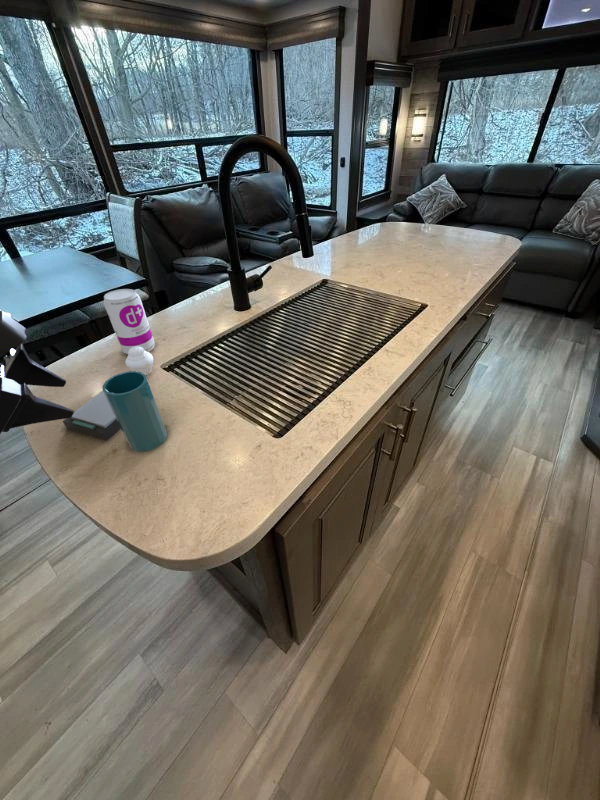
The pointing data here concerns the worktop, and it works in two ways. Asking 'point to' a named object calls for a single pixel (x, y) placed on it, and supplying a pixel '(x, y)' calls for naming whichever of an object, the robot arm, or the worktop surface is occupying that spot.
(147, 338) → the supplement can
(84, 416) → the scale
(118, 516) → the worktop surface
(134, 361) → the white frosted cupcake
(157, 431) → the cup
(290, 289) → the worktop surface
